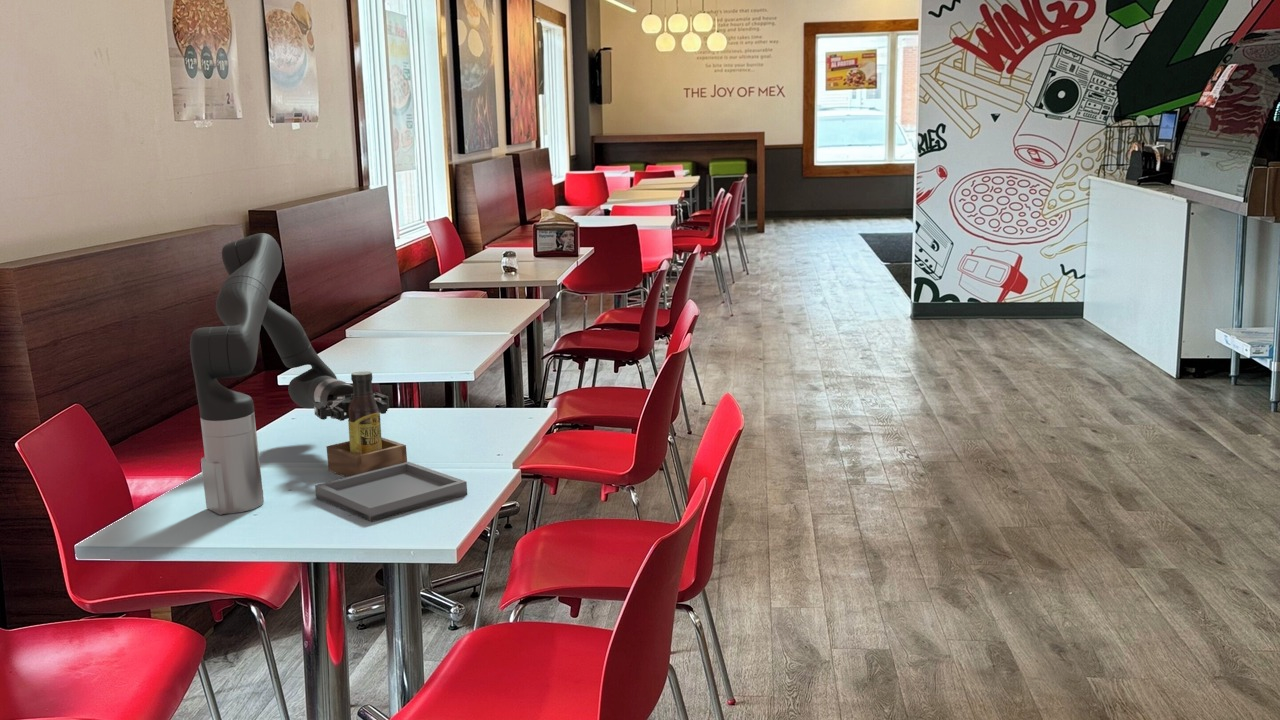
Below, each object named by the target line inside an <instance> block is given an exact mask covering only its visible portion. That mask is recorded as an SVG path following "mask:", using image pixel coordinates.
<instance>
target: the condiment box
mask: <svg viewBox="0 0 1280 720" xmlns="http://www.w3.org/2000/svg"><path fill="white" fill-rule="evenodd" d="M381 440H382V450H377V451H373V452H369V453H365V454H361V455H357V454H354V453H351V452H350V440H347V441H343V442H339V443H334V444H330V445H327V446H325V447H326V456H327V466H328V467H327V468H328V471H330V472H333V473H334V474H337V475H341V476H343V477H344V478H346V477H350V476H354V475H358V474H362V473H366V472H369V471H373V470H377V469H381V468H385V467H389V466H393V465H397V464H401V463H405V462H408V455H407V445H406V444H404V443H401V442H397V441H394V440H391V439H388V438H385V437H382V436H381Z"/></svg>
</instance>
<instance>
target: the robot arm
mask: <svg viewBox="0 0 1280 720" xmlns="http://www.w3.org/2000/svg"><path fill="white" fill-rule="evenodd" d="M281 250H282V249H281V248H280V245H279V243H278V242H277V241H276V239H275V238H274V237H273V235H270V234H269V233H265V232H260V233H255V234H252V235H248V236H245V237H243V238H241V239H236V240H233V241H232V242H229V243H227V244H225V245H224V246H223V247H222V249H221V258H222V263H223V265H224V266H223V267H224V269H225V270H226V272H227V274H228V277H226V279H225V280H224V281H223V283H222V285H221V286H220V288H219V291H218V295H217V296H216V297H217V298H216V302H215V311H216V314H217V317H218V318H219V319H220V321H221V322H222V323H223V325H224V326H219V325H218V326H209V327H208V326H206V327H199V328H195V329H194V330H193V331H192V333H191V335H190V340H189V353H190V360H191V365H192V366H191V367H192V371H193V376H194V382H195V388H196V397H197V403H198V409H199V417H200V418H199V419H200V426H201V435H202V436H201V437H202V443H203V444H202V446H203V452H204V456H203V457H201V459H200V464H201V473H202V481H203V489H204V497H205V508H206V509H208V510H210V511H211V512H214V513H215V514H217V515H219V516H222V515H226V514H238V513H242V512H247V511H251V510H254V509H256V508H260V507H261V506H262V505H264V502H265V501H264V500H265V499H264V489H263V481H262V470H261V462H260V454H259V445H258V435H257V426H256V417H255V416H256V415H255V406H254V400H253V398H252V397H251V396H250V395H248V394H245V393H244V392H240V391H235V390H232V389H230V388H227V387H226V386H224V385H222V384H221V383H220V382H219V381H218V379H227V378H229V379H230V378H238V377H240V378H241V377H245V376H248V375H250V374H251V373H253V371H254V369H255V367H256V365H257V359H258V351H259V343H260V332H261V329H262V328H261V327H264V329H265V331H266V333H267V334H268V336H269V338H270V339H271V341H272V344H273V345H274V348H275V349H276V352H277V353H278V355H279V357H280V359H281V361H282V363H283V364H284V366H285V367H286V368H289V369H295V368H299V367H303V366H308V365H309V366H310V367H311V368H310V369H308V370H306V371H304V372H302V373H301V374H299V375H297V376H295V377H293V378H292V379H291V380H290V381H289V383H288V388H287V389H288V394H289V397H290V399H291V400H292V401H293V402H294V404H296V405H297V406H299V407H302V408H303V409H313V411H314V415H315V416H316V417H317V418H319V419H320V420H323V421H324V420H327V419H328V417H330V419H332V420H334V419H335V420H338V421H340V422H342V421H345V420H349V415H348V407H349V404H350V402H351V400H352V398H353V384H350V383H347V382H346V381H343V380H341V379H339V378H338V377H337V375H336V374H335V373H334V371H333V370H332V369H331V368H330V367H329V366H328V365H327V364H326V363H325V361H323V359H322V358H321V357H320V356H319V355H318V354H317V352H316V350H315V349H314V347H313V346H312V344H311V341H310V339H309V338H308V334H307V333H306V332H305V329H304V327H303V326H302V324H301V323H300V322H299V320H298V319H297V318H296V317H295V316H294V315H292V314H291V313H290V312H288V311H287V310H286V309H283V307H281V306H279V305H277V304H276V303H275V302H273V301H272V300H271V299H270V295H271V292H272V289H273V286H274V283H275V281H276V280H277V278H278V276H279V274H280V272H281V269H282V265H283V264H282V263H283V257H282V251H281ZM373 396H374V399H375V401H376V404H377V407H378V409H379V412H380V415H381V414H382V415H383V414H384V415H385V414H387V412H388V410H389V409H390V402H389V399H390V397H389V396H388V395H386V394H383V393H380V392H377V391H376V392H373Z"/></svg>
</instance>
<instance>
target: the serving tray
mask: <svg viewBox="0 0 1280 720" xmlns="http://www.w3.org/2000/svg"><path fill="white" fill-rule="evenodd" d="M467 483H468V482H467V481H466V480H464V479H461V478H459V477H458V478H457V477H454V476H451V475H448V474H445V473H442V472H440V471H436V470H435V469H431V468H428V467H425V466H423V465H419V464H418V463H417V464H416V463H414V462H410V461H407V462H405V463H401V464H397V465H393V466H389V467H385V468H381V469H377V470H373V471H369V472H366V473H362V474H358V475H354V476H350V477H343V478H339V479H335V480H331V481H327V482H326V481H325V482H323V483H319V484H315V485H314V489H315V490H314V491H315V498H316V499H317V500H320V501H322V502H324V503H327V504H328V505H332V506H333V507H336V508H338V509H340V510H342V511H345V512H348V513H350V514H351V515H354V516H356V517H359V518H361V519H364V520H366V521H368V522H370V523H372V522H375V521H376V522H377V521H379V520H383V519H387V518H390V517H393V516H397V515H400V514H404V513H408V512H411V511H414V510H418V509H422V508H425V507H428V506H432V505H435V504H439V503H442V502H446V501H449V500H452V499H456V498H460V497H464V496H467V495H468V484H467Z"/></svg>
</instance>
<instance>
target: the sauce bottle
mask: <svg viewBox="0 0 1280 720" xmlns="http://www.w3.org/2000/svg"><path fill="white" fill-rule="evenodd" d="M350 380H351V382H352V386H353V398H352V400H351V402H350V404H349V407H348V415H349V418H348V419H347V420H348V423H347V424H348V436H349V437H348V438H349V440H348V441H350V452H351V453H354V454H357V455H361V454H365V453H369V452H373V451H377V450H382V440H381V437H382V427H381V426H382V425H381V413H380V412H379V409H378V407H377V404H376V401H375V399H374V396H373V393H374V391H373V383H372V381H373V372H372V371H368V370H367V371H365V370H363V371H355V372H352V373H351V378H350Z"/></svg>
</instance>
